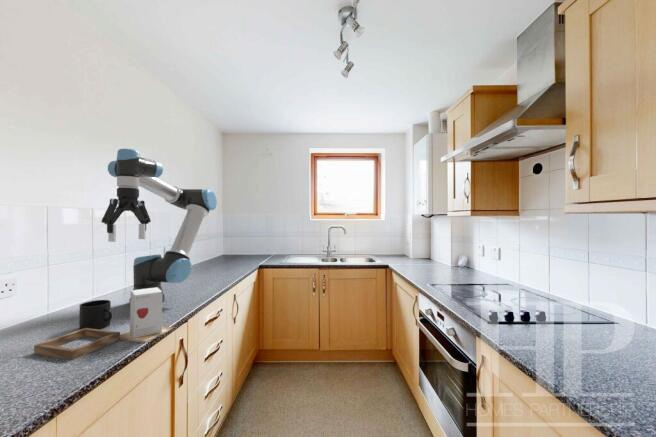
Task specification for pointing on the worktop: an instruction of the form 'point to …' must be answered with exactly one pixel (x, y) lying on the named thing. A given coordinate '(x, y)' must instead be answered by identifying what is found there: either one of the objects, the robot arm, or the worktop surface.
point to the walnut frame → (52, 345)
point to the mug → (95, 314)
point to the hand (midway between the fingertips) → (127, 240)
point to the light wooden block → (144, 339)
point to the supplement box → (145, 312)
